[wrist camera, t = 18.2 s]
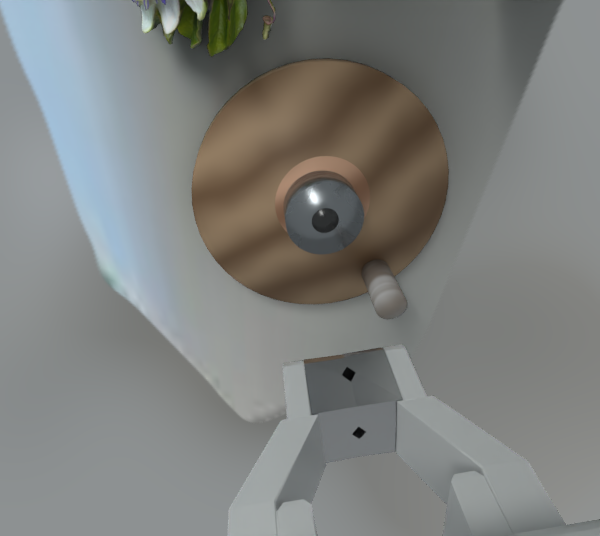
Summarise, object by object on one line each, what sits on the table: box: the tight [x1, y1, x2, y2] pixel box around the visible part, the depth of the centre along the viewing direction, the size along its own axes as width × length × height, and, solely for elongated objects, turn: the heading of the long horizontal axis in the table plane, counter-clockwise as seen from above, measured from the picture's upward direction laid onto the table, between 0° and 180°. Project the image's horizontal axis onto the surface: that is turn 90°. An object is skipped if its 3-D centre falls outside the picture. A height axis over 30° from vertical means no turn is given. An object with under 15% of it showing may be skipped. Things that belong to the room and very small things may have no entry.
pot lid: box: [283, 170, 364, 254], centre depth 38 cm, size 7×7×3 cm
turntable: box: [192, 58, 449, 319], centre depth 38 cm, size 24×24×8 cm
